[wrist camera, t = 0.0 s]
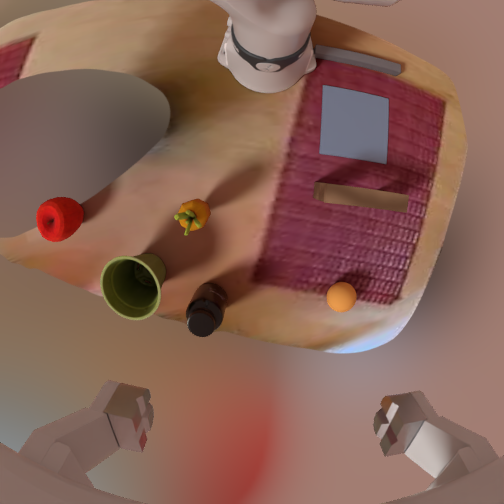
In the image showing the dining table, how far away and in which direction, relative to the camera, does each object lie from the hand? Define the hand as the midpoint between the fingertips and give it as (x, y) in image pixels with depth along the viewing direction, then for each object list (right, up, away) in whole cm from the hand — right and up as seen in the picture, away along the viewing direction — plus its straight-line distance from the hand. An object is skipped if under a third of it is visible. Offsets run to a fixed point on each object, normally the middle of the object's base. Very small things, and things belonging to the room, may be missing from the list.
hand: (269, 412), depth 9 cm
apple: (-39, +14, +46) cm, 62 cm away
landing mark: (+19, +30, +42) cm, 55 cm away
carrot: (-10, +14, +46) cm, 49 cm away
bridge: (+19, +16, +45) cm, 52 cm away
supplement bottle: (-9, -4, +51) cm, 52 cm away
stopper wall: (+20, +43, +38) cm, 61 cm away
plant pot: (-22, +2, +49) cm, 54 cm away
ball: (+17, -4, +47) cm, 51 cm away
